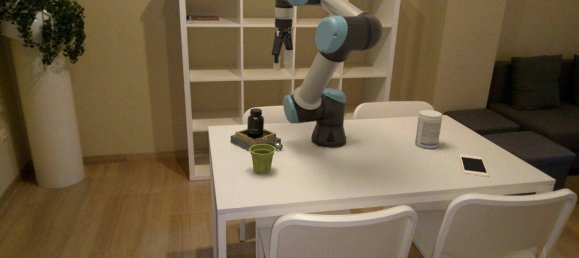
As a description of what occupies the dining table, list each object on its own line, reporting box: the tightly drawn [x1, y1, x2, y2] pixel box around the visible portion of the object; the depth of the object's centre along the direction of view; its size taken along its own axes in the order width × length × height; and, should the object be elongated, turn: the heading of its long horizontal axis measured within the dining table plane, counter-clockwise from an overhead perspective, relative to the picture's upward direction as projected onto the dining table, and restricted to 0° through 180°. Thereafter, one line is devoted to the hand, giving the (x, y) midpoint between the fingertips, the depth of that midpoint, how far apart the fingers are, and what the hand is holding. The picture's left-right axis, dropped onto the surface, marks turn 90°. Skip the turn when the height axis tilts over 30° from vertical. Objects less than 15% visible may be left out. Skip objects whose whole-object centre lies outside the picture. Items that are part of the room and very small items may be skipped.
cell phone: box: [459, 153, 490, 177], centre depth 170 cm, size 9×18×1 cm, turn 165°
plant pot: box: [248, 144, 276, 175], centre depth 157 cm, size 9×9×9 cm
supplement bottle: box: [246, 107, 265, 139], centre depth 180 cm, size 7×7×12 cm
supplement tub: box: [414, 109, 443, 150], centre depth 186 cm, size 10×10×15 cm
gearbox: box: [230, 128, 283, 152], centre depth 181 cm, size 20×14×5 cm
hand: (282, 67), depth 192 cm, fingers open, 13 cm apart
